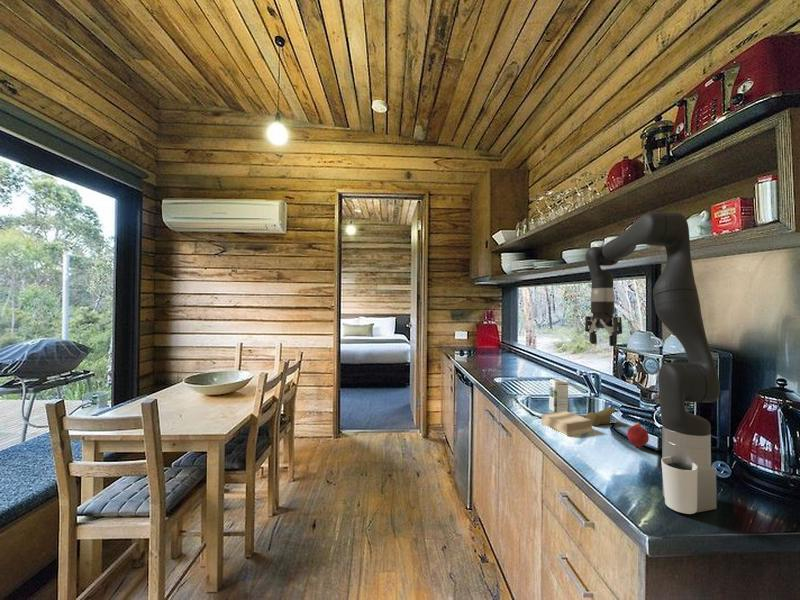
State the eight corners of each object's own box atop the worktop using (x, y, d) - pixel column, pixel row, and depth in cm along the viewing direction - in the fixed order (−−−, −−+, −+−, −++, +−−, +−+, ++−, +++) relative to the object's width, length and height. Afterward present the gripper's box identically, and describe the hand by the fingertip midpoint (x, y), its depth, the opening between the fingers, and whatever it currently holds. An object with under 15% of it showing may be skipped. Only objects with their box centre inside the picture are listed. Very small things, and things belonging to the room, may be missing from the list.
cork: (601, 412, 142) (580, 415, 138) (611, 405, 137) (589, 408, 134) (611, 426, 138) (589, 430, 134) (621, 420, 134) (599, 424, 130)
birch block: (591, 433, 127) (591, 420, 127) (567, 438, 123) (567, 424, 123) (565, 423, 138) (565, 410, 139) (541, 427, 134) (541, 414, 134)
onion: (644, 452, 110) (644, 426, 110) (624, 446, 115) (624, 422, 115) (651, 448, 114) (651, 423, 114) (631, 442, 118) (631, 418, 119)
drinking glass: (655, 501, 84) (654, 460, 83) (675, 495, 86) (673, 454, 85) (686, 518, 77) (684, 473, 77) (706, 510, 79) (704, 466, 79)
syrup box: (548, 412, 152) (548, 378, 152) (562, 412, 152) (562, 379, 152) (554, 416, 146) (554, 381, 146) (568, 416, 146) (568, 381, 146)
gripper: (627, 300, 123) (628, 346, 123) (595, 301, 137) (595, 342, 137) (610, 300, 121) (611, 347, 121) (579, 301, 135) (579, 343, 135)
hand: (602, 344), depth 129 cm, fingers open, 8 cm apart
